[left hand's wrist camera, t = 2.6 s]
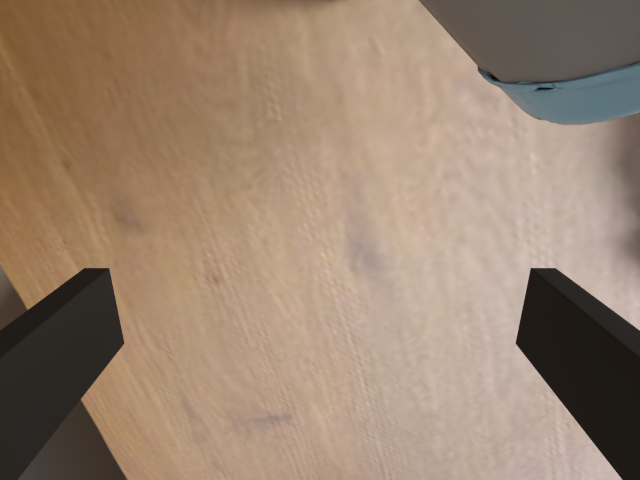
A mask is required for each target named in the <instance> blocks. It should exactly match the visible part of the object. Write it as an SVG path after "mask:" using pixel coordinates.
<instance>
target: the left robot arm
mask: <svg viewBox="0 0 640 480" xmlns="http://www.w3.org/2000/svg"><path fill="white" fill-rule="evenodd" d="M419 1H420V2H421V3H422V4H423V5H424V7H425V8H426V9H427V10H428V11H429V12H430V13H431V14H432V15H433V17H434V18H435V19H436V20H437V21H438V22H439V23H440V24H441V25H442V27H443V28H444V29H445V30H446V31H447V32H448V33H449V34H450V35H451V37H452V38H453V39H454V40H455V41H456V42H457V43H458V44H459V45H460V46H461V48H462V49H463V50H464V51H465V52H466V53H467V54H468V55H469V56H470V58H471V59H472V60H473V61H474V62H475V63H476V64H477V65H478V71H479V73H480V74H481V75H482V76H483V78H484V79H486V80H487V81H488V82H489V83H491V84H493V85H496V86H498V87H500V88H501V89H502V90H503V91H504V92H505V93H506V94H507V95H508V96H509V97H510V98H511V99H512V100H513V101H514V102H515V103H516V104H517V105H518V106H519V107H520V108H521V109H522V110H523V111H524V112H525V113H527V114H529V115H530V116H532V117H534V118H536V119H539V120H547V121H549V122H551V123H557V124H562V125H581V124H591V123H598V122H604V121H609V120H613V119H618V118H622V117H625V116H629V115H633V114H636V113H639V112H640V0H419ZM123 344H124V340H123V335H122V330H121V325H120V320H119V315H118V310H117V305H116V300H115V295H114V290H113V285H112V280H111V275H110V270H109V268H84V269H83V270H82V271H80V272H79V273H77V274H76V275H75V276H73V277H72V278H71V279H69V280H68V281H67V282H65V283H64V284H63V285H61V286H60V287H59V288H57V289H56V290H55V291H53V292H52V293H51V294H49V295H48V296H46V297H45V298H44V299H42V300H41V301H40V302H38V303H37V304H36V305H34V306H33V307H32V308H30V309H29V310H28V311H26V312H25V313H24V314H22V315H21V316H20V317H18V318H17V319H15V320H14V321H13V322H11V323H10V324H9V325H7V326H6V327H5V328H3V329H2V330H1V331H0V480H18V478H19V477H20V476H21V474H22V473H23V472H24V471H25V469H26V468H27V467H28V466H29V464H30V463H31V462H32V460H33V459H34V458H35V457H36V455H37V454H38V453H39V452H40V450H41V449H42V448H43V446H44V445H45V444H46V442H47V441H48V440H49V439H50V437H51V436H52V435H53V434H54V432H55V431H56V430H57V429H58V427H59V426H60V425H61V423H62V422H63V421H64V420H65V418H66V417H67V416H68V414H69V413H70V412H71V411H72V409H73V408H74V407H75V406H76V404H77V403H78V402H79V401H80V399H81V398H82V397H83V395H84V394H85V393H86V392H87V390H88V389H89V388H90V386H91V385H92V384H93V383H94V381H95V380H96V379H97V378H98V376H99V375H100V374H101V372H102V371H103V370H104V369H105V367H106V366H107V365H108V364H109V362H110V361H111V360H112V358H113V357H114V356H115V355H116V353H117V352H118V351H119V349H120V348H121V347H122V346H123ZM516 344H517V346H518V347H519V348H520V349H521V351H522V352H523V353H524V355H525V356H526V357H527V358H528V360H529V361H530V362H531V364H532V365H533V366H534V367H535V369H536V370H537V371H538V372H539V374H540V375H541V376H542V378H543V379H544V380H545V381H546V383H547V384H548V385H549V386H550V388H551V389H552V390H553V392H554V393H555V394H556V395H557V397H558V398H559V399H560V401H561V402H562V403H563V404H564V406H565V407H566V408H567V409H568V411H569V412H570V413H571V415H572V416H573V417H574V418H575V420H576V421H577V422H578V423H579V425H580V426H581V427H582V429H583V430H584V431H585V432H586V434H587V435H588V436H589V437H590V439H591V440H592V441H593V443H594V444H595V445H596V446H597V448H598V449H599V450H600V452H601V453H602V454H603V455H604V457H605V458H606V459H607V460H608V462H609V463H610V464H611V466H612V467H613V468H614V469H615V471H616V472H617V473H618V474H619V476H620V477H621V478H622V480H640V331H639V330H638V329H637V328H635V327H634V326H633V325H631V324H630V323H629V322H627V321H626V320H625V319H623V318H622V317H621V316H619V315H618V314H616V313H615V312H614V311H612V310H611V309H610V308H608V307H607V306H606V305H604V304H603V303H602V302H600V301H599V300H598V299H596V298H595V297H594V296H592V295H591V294H589V293H588V292H587V291H585V290H584V289H583V288H581V287H580V286H579V285H577V284H576V283H575V282H573V281H572V280H571V279H569V278H568V277H567V276H565V275H564V274H562V273H561V272H560V271H558V270H557V269H556V268H531V270H530V275H529V280H528V285H527V290H526V295H525V300H524V305H523V310H522V315H521V320H520V325H519V330H518V335H517V340H516Z"/></svg>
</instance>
